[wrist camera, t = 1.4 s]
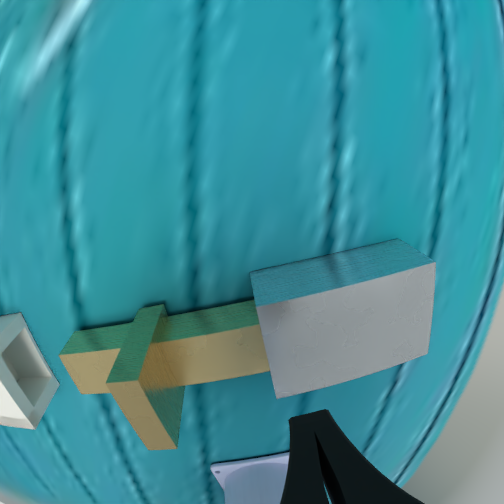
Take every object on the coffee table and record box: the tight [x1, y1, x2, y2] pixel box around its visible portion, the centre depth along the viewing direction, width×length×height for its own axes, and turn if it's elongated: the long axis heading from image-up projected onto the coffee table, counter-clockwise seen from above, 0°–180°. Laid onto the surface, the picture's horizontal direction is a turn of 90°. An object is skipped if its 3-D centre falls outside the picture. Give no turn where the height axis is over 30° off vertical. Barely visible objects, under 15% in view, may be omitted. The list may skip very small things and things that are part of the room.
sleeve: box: [250, 239, 436, 399], centre depth 16 cm, size 6×9×4 cm, turn 101°
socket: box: [0, 312, 60, 429], centre depth 16 cm, size 6×4×5 cm
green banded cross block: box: [59, 300, 270, 450], centre depth 15 cm, size 5×20×6 cm, turn 101°
